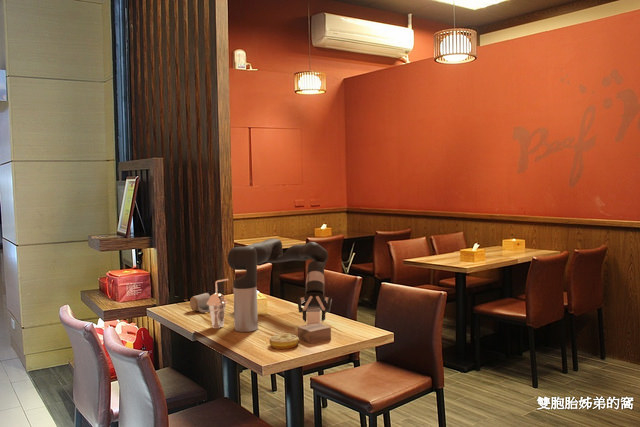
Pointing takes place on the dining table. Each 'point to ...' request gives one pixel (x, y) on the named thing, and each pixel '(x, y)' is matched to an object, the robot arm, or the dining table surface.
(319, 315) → the canister
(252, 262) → the robot arm
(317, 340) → the walnut block
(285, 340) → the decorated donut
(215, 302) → the cup with straw
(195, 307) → the ceramic mug
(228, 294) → the dining table surface
